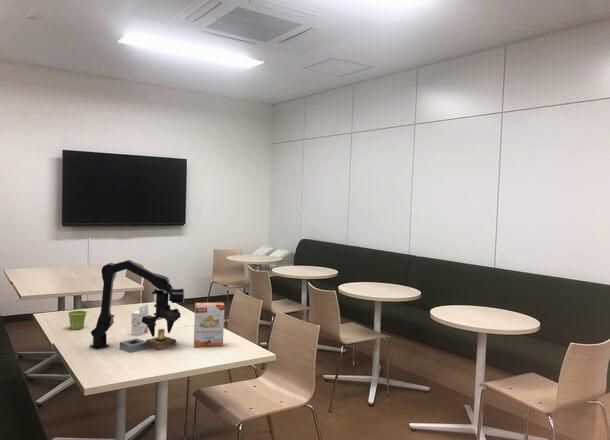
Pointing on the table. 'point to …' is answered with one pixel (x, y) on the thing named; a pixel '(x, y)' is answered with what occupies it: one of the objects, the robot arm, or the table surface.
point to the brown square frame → (161, 343)
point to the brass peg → (161, 334)
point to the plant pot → (77, 319)
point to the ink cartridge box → (139, 321)
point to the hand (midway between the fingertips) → (161, 334)
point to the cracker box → (209, 324)
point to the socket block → (133, 345)
